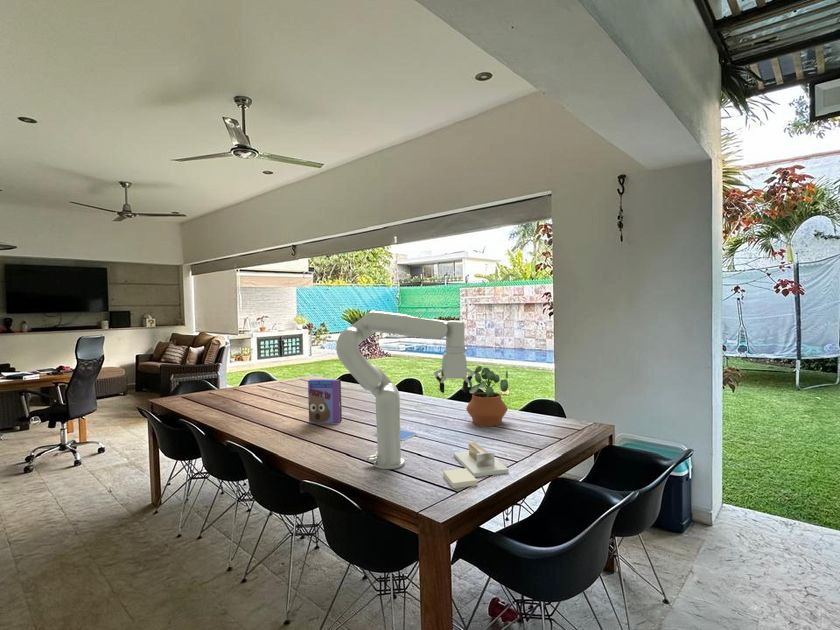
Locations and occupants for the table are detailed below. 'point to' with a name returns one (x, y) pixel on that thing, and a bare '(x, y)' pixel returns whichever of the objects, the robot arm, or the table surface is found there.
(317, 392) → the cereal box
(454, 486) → the tile
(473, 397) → the potted plant
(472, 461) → the white rectangular board
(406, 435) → the tablet computer
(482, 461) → the beige upright post
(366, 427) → the table surface
